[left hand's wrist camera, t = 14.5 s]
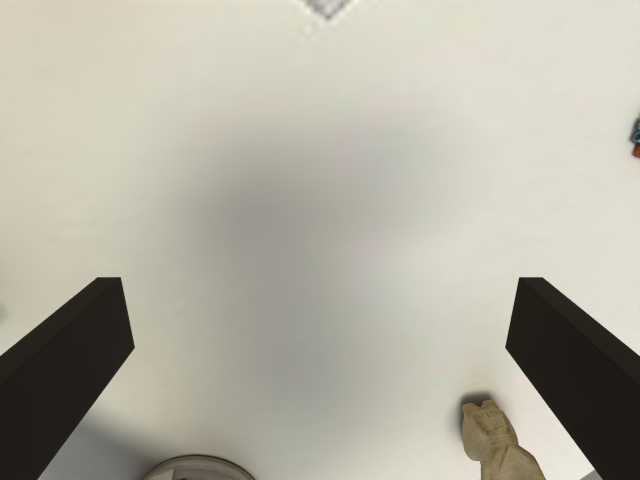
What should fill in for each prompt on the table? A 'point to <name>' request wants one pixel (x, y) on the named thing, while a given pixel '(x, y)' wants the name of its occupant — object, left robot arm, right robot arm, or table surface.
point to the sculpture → (496, 444)
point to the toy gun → (638, 139)
